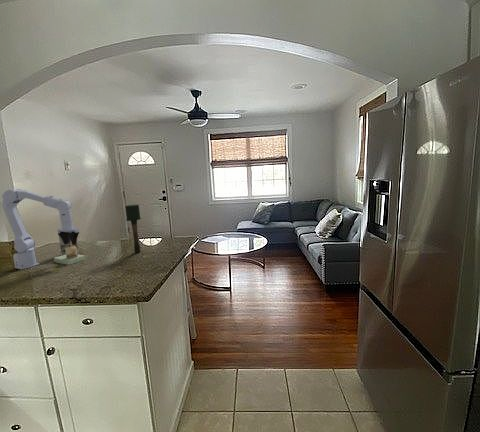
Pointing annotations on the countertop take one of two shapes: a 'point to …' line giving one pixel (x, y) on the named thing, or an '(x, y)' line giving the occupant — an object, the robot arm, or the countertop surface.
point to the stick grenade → (134, 223)
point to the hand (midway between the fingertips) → (70, 244)
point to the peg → (71, 252)
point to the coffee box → (67, 245)
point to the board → (64, 259)
